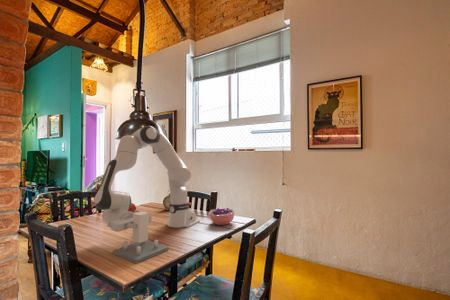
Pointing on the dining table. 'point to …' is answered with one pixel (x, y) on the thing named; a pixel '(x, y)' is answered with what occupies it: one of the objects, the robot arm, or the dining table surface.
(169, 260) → the dining table surface
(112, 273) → the dining table surface
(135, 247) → the peg cradle
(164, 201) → the alarm clock
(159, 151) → the robot arm
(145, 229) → the cream post
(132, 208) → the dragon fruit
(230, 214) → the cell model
